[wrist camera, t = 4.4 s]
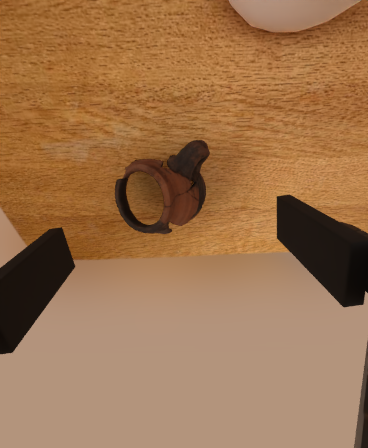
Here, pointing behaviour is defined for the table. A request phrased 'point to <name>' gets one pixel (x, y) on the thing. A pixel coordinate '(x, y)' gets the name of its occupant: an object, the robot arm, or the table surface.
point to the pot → (289, 13)
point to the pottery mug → (169, 187)
